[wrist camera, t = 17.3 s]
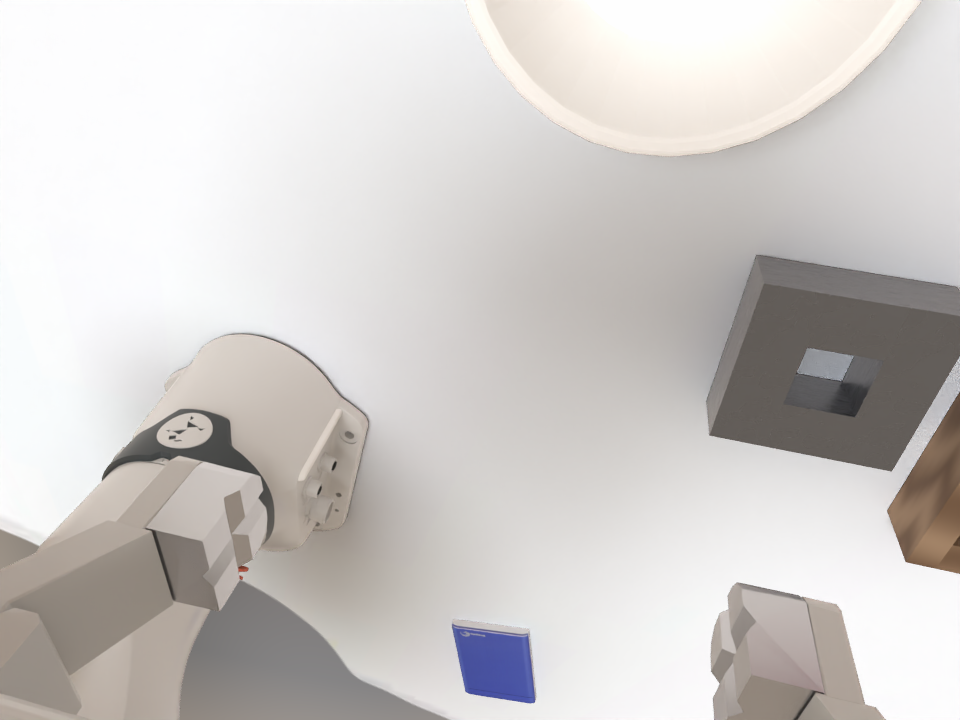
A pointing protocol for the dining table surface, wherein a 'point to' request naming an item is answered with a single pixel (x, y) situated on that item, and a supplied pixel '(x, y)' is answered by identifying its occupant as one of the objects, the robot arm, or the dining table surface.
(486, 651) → the hard drive
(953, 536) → the rack
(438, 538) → the dining table surface
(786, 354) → the socket block
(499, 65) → the bowl
